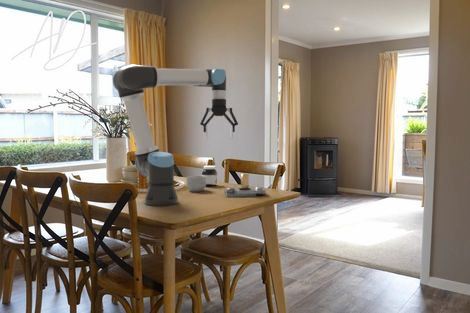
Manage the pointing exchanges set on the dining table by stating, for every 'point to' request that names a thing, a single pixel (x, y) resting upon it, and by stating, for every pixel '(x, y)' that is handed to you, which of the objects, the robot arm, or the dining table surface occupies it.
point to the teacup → (196, 183)
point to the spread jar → (210, 176)
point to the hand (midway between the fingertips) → (219, 138)
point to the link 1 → (232, 193)
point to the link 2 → (251, 190)
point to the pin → (244, 181)
